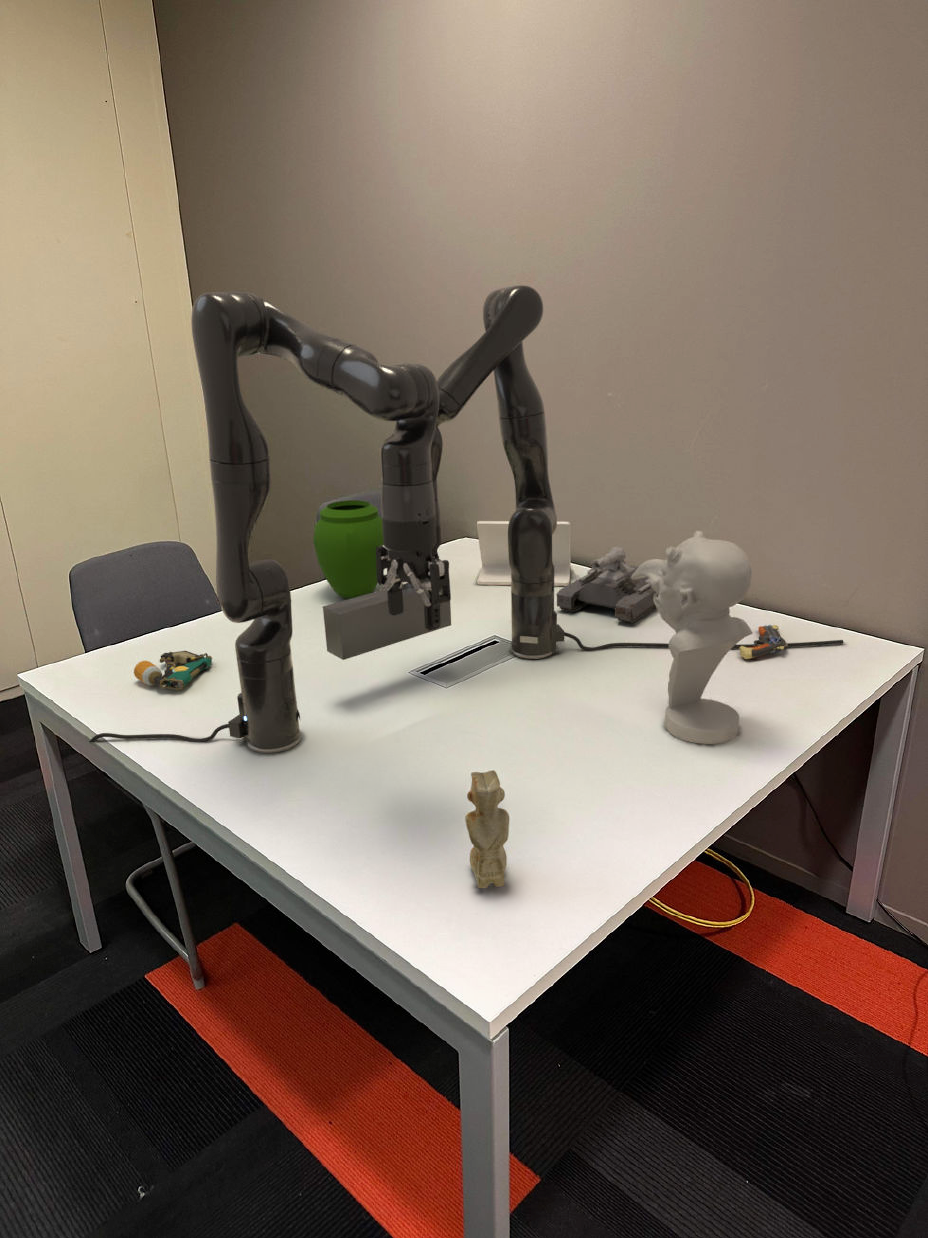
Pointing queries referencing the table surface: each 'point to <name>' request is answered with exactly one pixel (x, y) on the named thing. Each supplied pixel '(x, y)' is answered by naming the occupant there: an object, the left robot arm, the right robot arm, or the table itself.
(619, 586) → the toy
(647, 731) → the table surface
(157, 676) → the spray gun
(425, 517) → the left robot arm
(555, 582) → the tablet stand
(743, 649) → the toy gun
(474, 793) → the sculpture
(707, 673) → the bust sculpture
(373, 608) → the bar
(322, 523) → the vase
